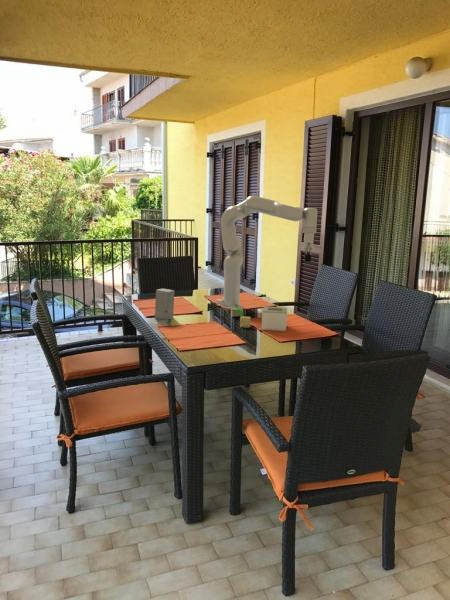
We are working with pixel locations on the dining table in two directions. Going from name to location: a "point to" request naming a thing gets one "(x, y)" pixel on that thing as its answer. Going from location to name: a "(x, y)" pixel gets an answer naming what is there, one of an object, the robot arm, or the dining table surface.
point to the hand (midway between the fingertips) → (307, 260)
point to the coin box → (274, 318)
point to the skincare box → (164, 304)
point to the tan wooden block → (245, 322)
